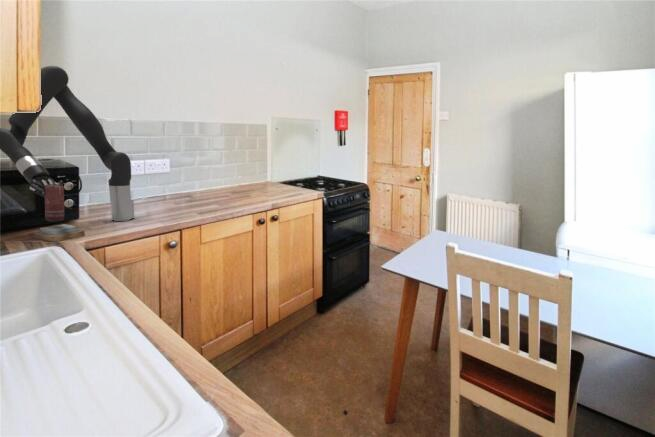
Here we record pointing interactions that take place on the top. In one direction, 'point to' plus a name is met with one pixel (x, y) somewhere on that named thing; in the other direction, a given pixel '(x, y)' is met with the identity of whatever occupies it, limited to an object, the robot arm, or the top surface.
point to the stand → (59, 232)
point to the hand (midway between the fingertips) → (60, 202)
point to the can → (54, 202)
